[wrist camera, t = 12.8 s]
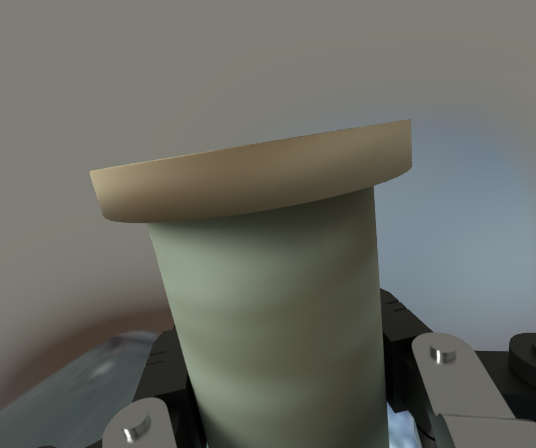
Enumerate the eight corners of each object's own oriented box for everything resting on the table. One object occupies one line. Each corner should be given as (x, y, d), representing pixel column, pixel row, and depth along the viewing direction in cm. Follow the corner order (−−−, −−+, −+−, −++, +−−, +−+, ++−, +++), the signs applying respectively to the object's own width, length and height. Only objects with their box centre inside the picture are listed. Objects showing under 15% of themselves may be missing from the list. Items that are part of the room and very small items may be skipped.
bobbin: (230, 780, 7) (-13, 188, 3) (226, 483, 13) (141, 162, 9) (479, 685, 8) (515, 103, 4) (364, 445, 14) (336, 130, 10)
